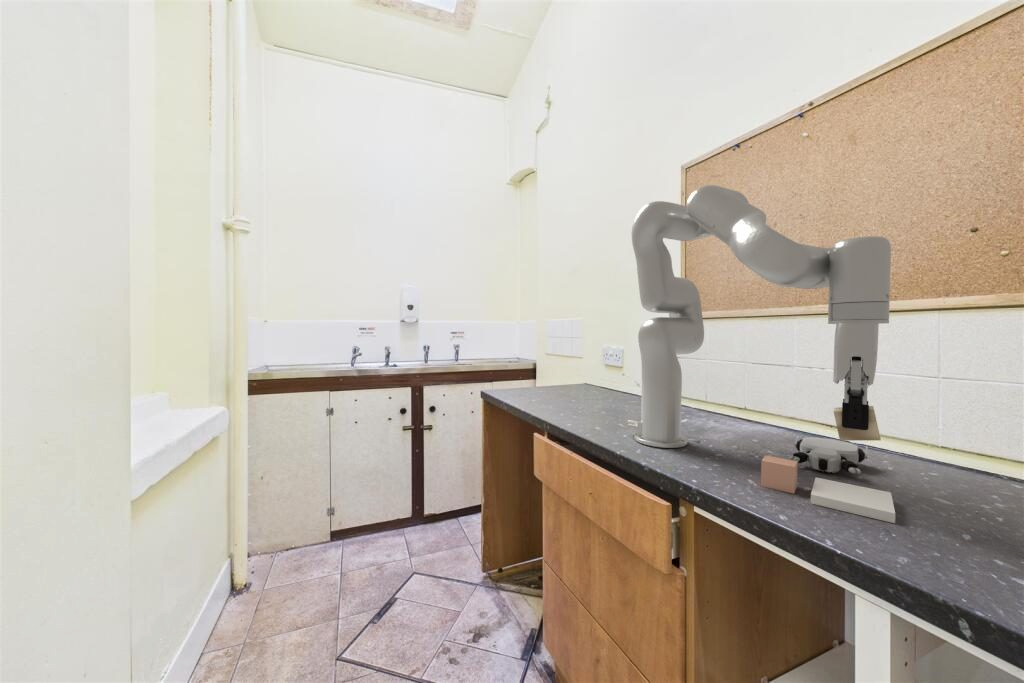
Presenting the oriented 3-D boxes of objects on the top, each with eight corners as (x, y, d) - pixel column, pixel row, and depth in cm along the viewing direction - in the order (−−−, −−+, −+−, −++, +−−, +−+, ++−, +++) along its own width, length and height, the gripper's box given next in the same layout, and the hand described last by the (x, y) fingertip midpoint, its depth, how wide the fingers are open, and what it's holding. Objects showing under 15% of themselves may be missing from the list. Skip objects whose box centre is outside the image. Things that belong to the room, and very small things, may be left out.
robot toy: (863, 488, 73) (867, 463, 84) (864, 465, 73) (868, 442, 84) (785, 471, 82) (797, 450, 93) (785, 450, 82) (797, 432, 92)
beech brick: (839, 440, 64) (833, 411, 65) (840, 435, 67) (834, 407, 68) (881, 440, 61) (874, 409, 62) (879, 435, 64) (873, 406, 65)
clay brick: (760, 486, 72) (761, 460, 72) (764, 480, 75) (765, 455, 75) (794, 494, 69) (795, 466, 69) (796, 487, 72) (797, 461, 72)
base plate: (810, 503, 65) (810, 494, 65) (815, 485, 72) (815, 477, 72) (895, 523, 58) (895, 513, 58) (890, 501, 66) (891, 492, 66)
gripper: (830, 316, 73) (828, 414, 73) (825, 313, 60) (822, 431, 61) (886, 315, 68) (883, 420, 68) (892, 312, 55) (889, 440, 56)
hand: (854, 424), depth 65 cm, fingers closed on beech brick, 4 cm apart
